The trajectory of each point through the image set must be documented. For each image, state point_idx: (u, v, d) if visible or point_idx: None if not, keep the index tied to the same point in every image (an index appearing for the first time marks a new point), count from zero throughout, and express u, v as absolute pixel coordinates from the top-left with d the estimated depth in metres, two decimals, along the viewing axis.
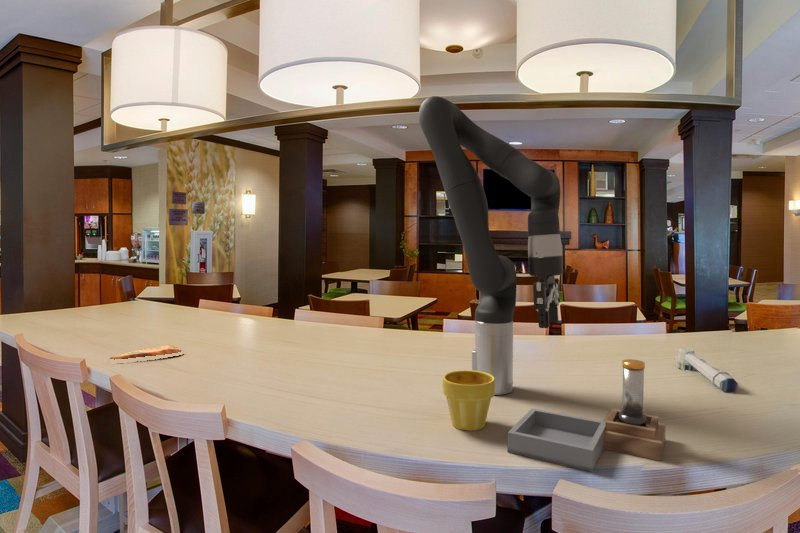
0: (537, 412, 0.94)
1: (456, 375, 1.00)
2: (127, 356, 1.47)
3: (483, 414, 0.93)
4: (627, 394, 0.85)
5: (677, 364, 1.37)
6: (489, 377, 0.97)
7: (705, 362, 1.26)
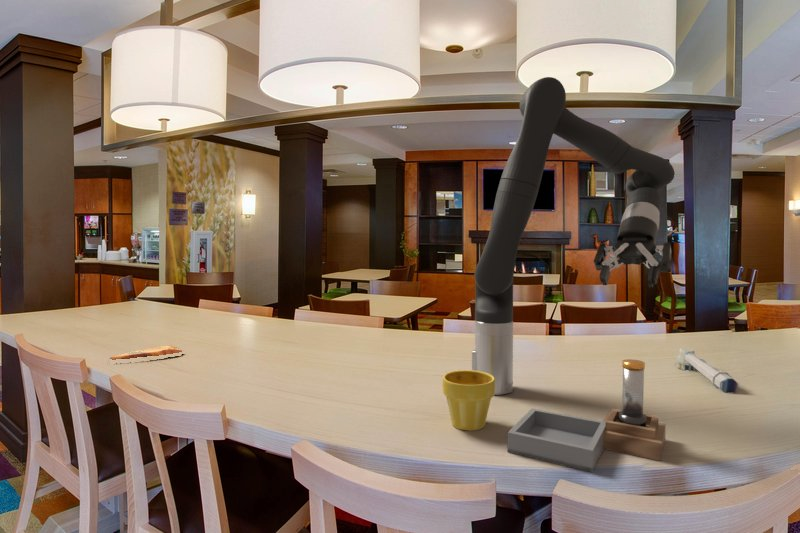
0: (537, 412, 0.94)
1: (456, 375, 1.00)
2: (126, 356, 1.47)
3: (483, 414, 0.93)
4: (627, 394, 0.85)
5: (677, 364, 1.37)
6: (489, 377, 0.97)
7: (705, 362, 1.26)
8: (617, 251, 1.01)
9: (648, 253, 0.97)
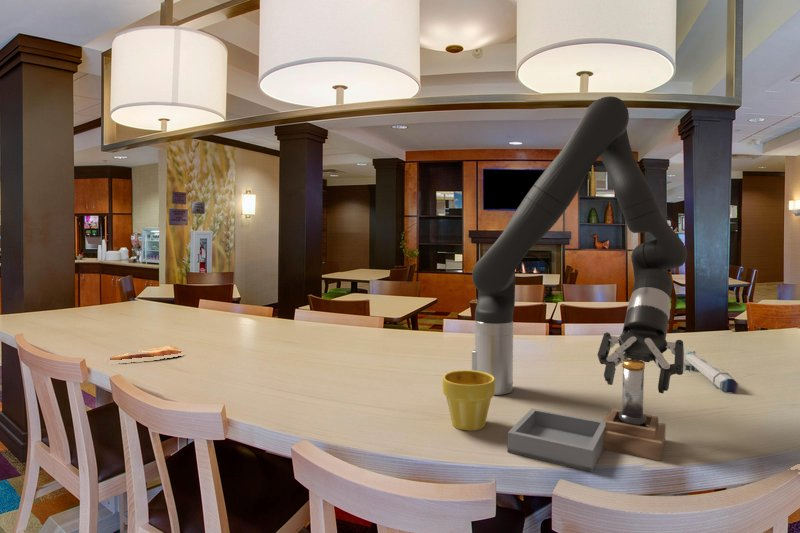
0: (537, 412, 0.94)
1: (456, 375, 1.00)
2: (126, 356, 1.47)
3: (483, 414, 0.93)
4: (627, 394, 0.85)
5: None
6: (489, 377, 0.97)
7: (706, 362, 1.25)
8: (624, 346, 0.91)
9: (658, 352, 0.87)
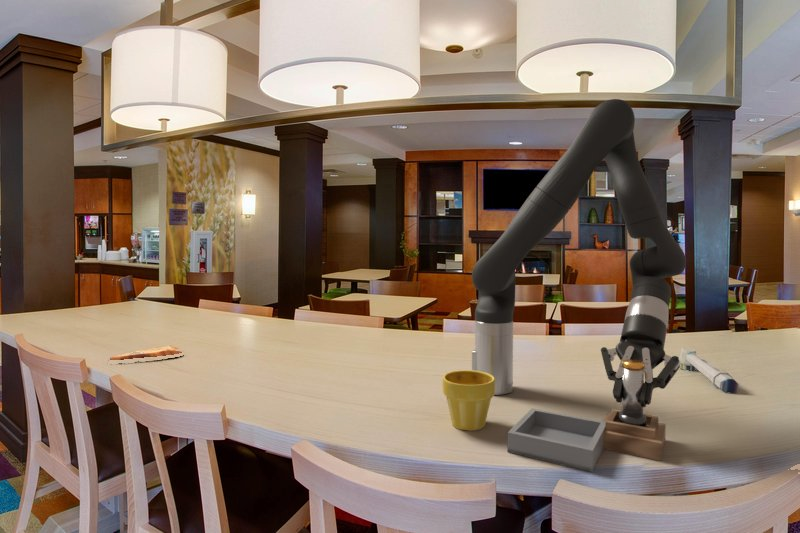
0: (537, 412, 0.94)
1: (456, 375, 1.00)
2: (125, 356, 1.47)
3: (483, 414, 0.93)
4: (627, 394, 0.85)
5: None
6: (489, 377, 0.97)
7: (706, 362, 1.25)
8: (625, 358, 0.89)
9: (648, 365, 0.86)
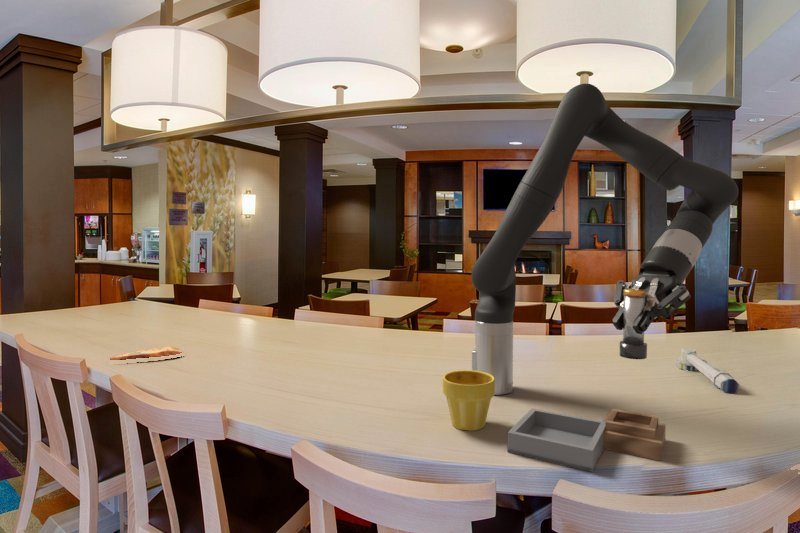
0: (537, 412, 0.94)
1: (456, 375, 1.00)
2: (125, 356, 1.46)
3: (483, 414, 0.93)
4: (624, 321, 0.85)
5: (679, 364, 1.36)
6: (489, 377, 0.97)
7: (707, 362, 1.25)
8: (634, 288, 0.88)
9: (652, 294, 0.84)
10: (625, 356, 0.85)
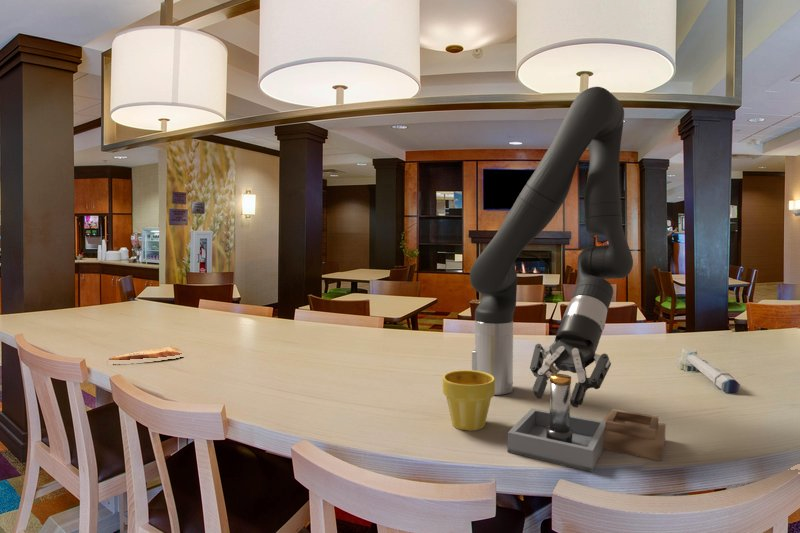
0: (537, 412, 0.94)
1: (456, 375, 1.00)
2: (124, 357, 1.46)
3: (483, 414, 0.93)
4: (552, 409, 0.85)
5: (680, 365, 1.36)
6: (489, 377, 0.97)
7: (707, 363, 1.25)
8: (553, 357, 0.88)
9: (579, 364, 0.84)
10: None
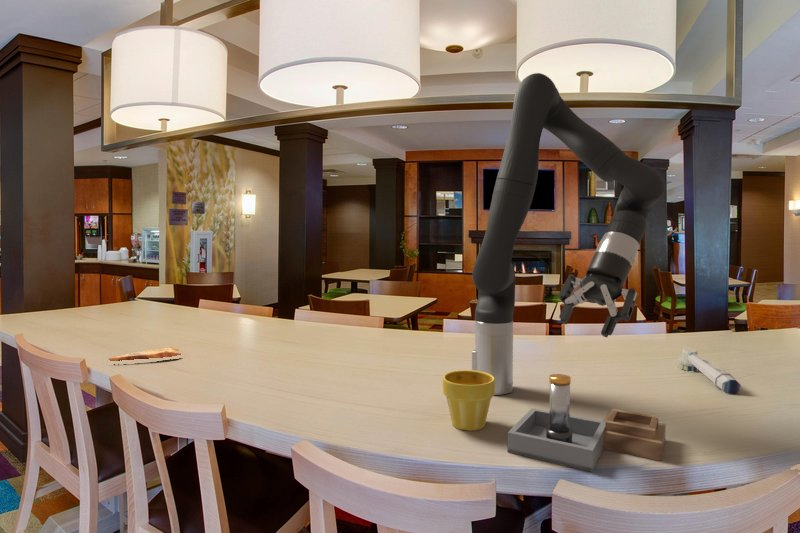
0: (537, 412, 0.94)
1: (456, 375, 1.00)
2: (123, 357, 1.46)
3: (483, 414, 0.93)
4: (552, 409, 0.85)
5: (680, 365, 1.36)
6: (489, 377, 0.97)
7: (708, 363, 1.25)
8: (582, 290, 0.97)
9: (609, 300, 0.93)
10: None
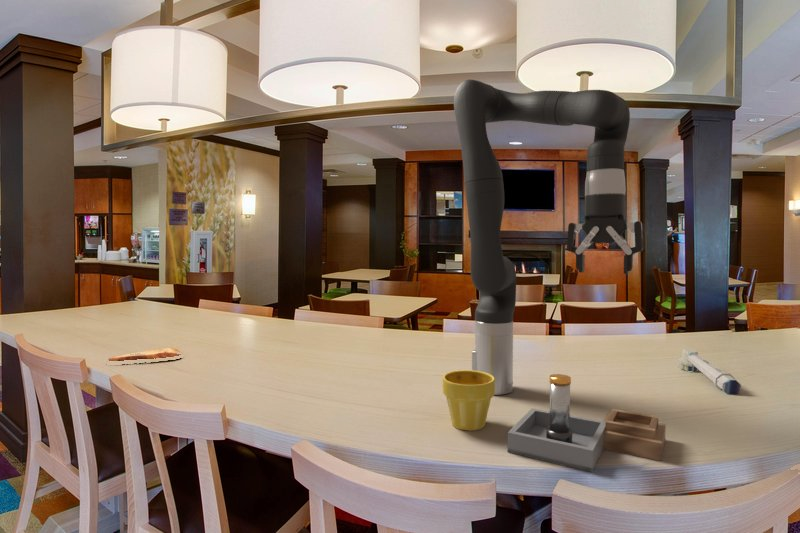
0: (537, 412, 0.94)
1: (456, 375, 1.00)
2: (123, 357, 1.45)
3: (483, 414, 0.93)
4: (552, 409, 0.85)
5: (680, 365, 1.35)
6: (489, 377, 0.97)
7: (708, 363, 1.24)
8: (588, 237, 0.98)
9: (620, 240, 0.94)
10: None
